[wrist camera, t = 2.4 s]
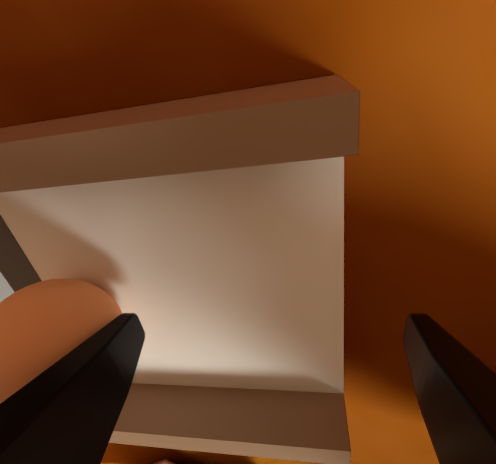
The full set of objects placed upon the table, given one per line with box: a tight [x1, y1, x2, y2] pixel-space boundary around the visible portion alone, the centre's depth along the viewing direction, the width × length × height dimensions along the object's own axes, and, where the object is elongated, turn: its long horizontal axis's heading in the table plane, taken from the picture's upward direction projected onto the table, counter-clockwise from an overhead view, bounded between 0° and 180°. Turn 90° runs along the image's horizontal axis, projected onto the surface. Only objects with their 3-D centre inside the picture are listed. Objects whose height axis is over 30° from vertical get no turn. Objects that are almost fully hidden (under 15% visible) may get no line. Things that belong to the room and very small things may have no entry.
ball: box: [0, 279, 122, 403], centre depth 9 cm, size 4×4×4 cm
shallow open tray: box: [0, 75, 360, 464], centre depth 11 cm, size 19×12×4 cm, turn 99°
